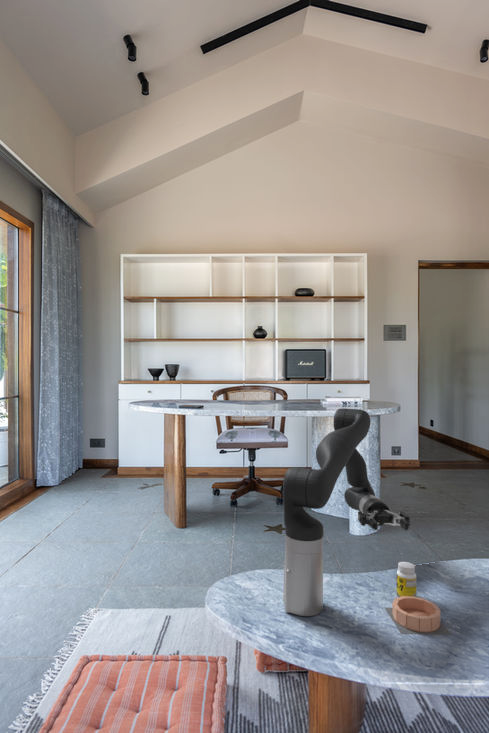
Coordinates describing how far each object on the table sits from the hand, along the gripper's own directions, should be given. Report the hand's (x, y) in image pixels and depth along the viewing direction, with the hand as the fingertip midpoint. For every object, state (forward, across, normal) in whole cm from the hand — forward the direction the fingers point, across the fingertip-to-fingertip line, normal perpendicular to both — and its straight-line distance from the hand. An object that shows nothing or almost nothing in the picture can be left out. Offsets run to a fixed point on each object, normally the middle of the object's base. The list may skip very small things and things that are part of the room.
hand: (391, 526), depth 122 cm
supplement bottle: (+12, 0, +14) cm, 18 cm away
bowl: (+22, -2, +14) cm, 26 cm away
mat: (+22, -2, +14) cm, 27 cm away
